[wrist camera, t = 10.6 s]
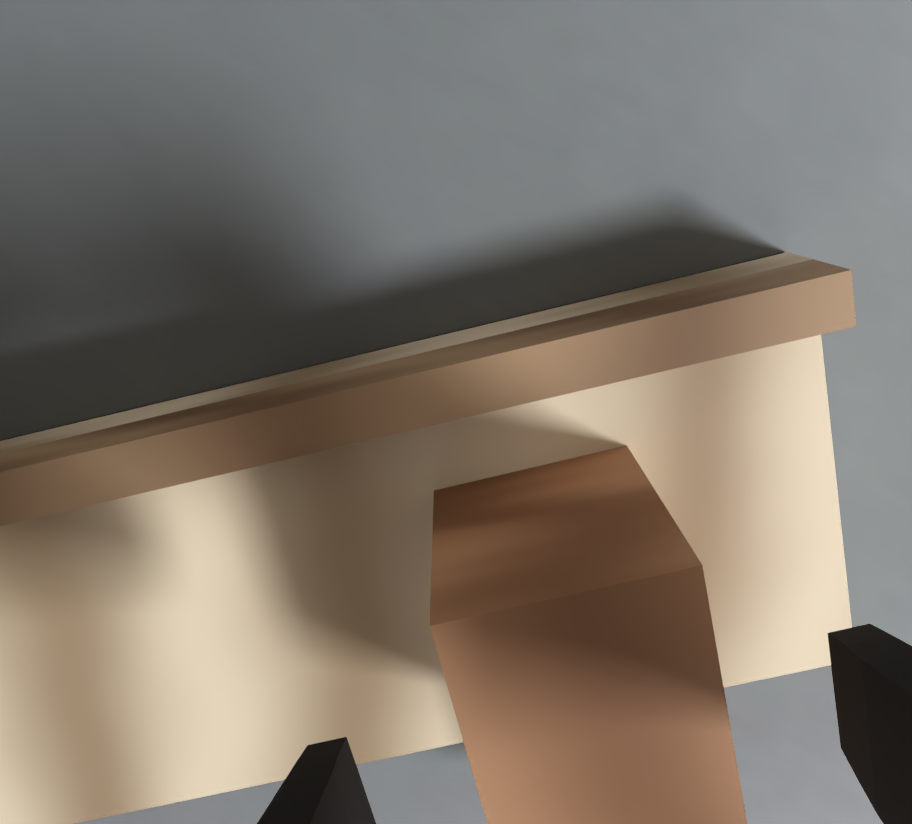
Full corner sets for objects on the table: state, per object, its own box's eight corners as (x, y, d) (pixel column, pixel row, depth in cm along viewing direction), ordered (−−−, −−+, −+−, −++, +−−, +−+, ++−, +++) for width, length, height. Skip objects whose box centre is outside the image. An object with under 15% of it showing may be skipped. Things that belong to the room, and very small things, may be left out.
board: (-47, 815, 20) (-118, 911, 18) (-220, 493, 18) (-333, 551, 15) (830, 629, 19) (891, 703, 16) (786, 252, 16) (851, 269, 14)
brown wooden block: (528, 831, 19) (555, 1054, 14) (433, 490, 16) (429, 625, 12) (695, 796, 19) (779, 1012, 14) (627, 445, 16) (702, 564, 11)
